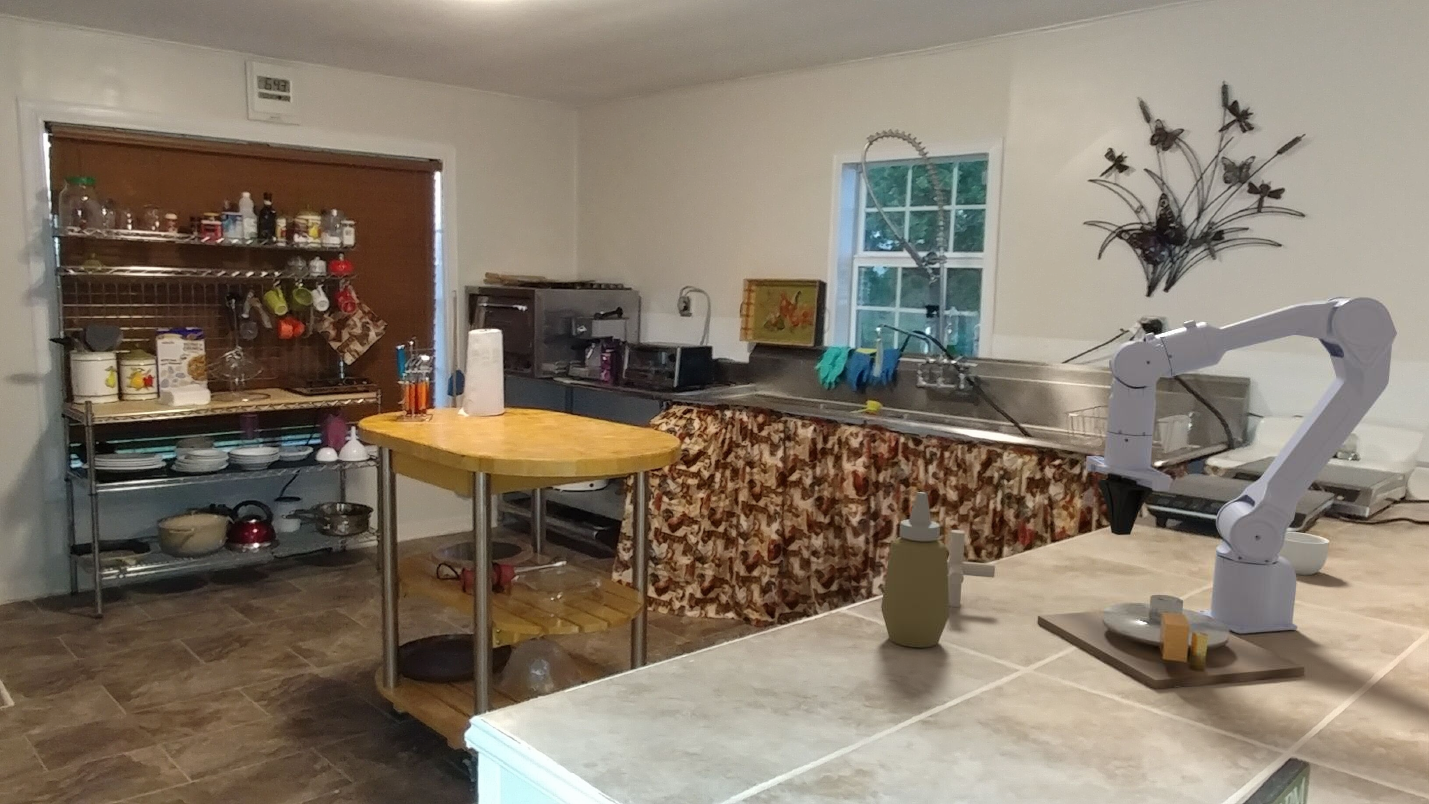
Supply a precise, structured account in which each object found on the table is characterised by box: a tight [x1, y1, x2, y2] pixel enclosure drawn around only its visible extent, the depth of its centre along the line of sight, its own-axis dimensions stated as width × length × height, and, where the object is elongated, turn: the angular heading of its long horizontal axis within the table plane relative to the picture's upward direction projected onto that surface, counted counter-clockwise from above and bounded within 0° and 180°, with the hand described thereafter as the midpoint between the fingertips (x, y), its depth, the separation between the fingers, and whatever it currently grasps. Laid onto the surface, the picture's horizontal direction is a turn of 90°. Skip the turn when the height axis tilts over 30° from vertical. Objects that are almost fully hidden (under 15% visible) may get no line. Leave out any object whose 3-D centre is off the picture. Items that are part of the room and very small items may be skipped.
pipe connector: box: [947, 529, 996, 608], centre depth 139 cm, size 10×10×10 cm
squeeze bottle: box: [880, 491, 950, 649], centre depth 124 cm, size 8×8×18 cm
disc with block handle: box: [1102, 594, 1231, 662], centre depth 123 cm, size 18×14×4 cm
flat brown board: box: [1037, 610, 1305, 690], centre depth 125 cm, size 20×22×2 cm
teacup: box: [1277, 531, 1330, 576], centre depth 164 cm, size 10×8×5 cm
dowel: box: [1189, 632, 1208, 672], centre depth 116 cm, size 2×2×4 cm
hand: (1120, 533), depth 139 cm, fingers closed
